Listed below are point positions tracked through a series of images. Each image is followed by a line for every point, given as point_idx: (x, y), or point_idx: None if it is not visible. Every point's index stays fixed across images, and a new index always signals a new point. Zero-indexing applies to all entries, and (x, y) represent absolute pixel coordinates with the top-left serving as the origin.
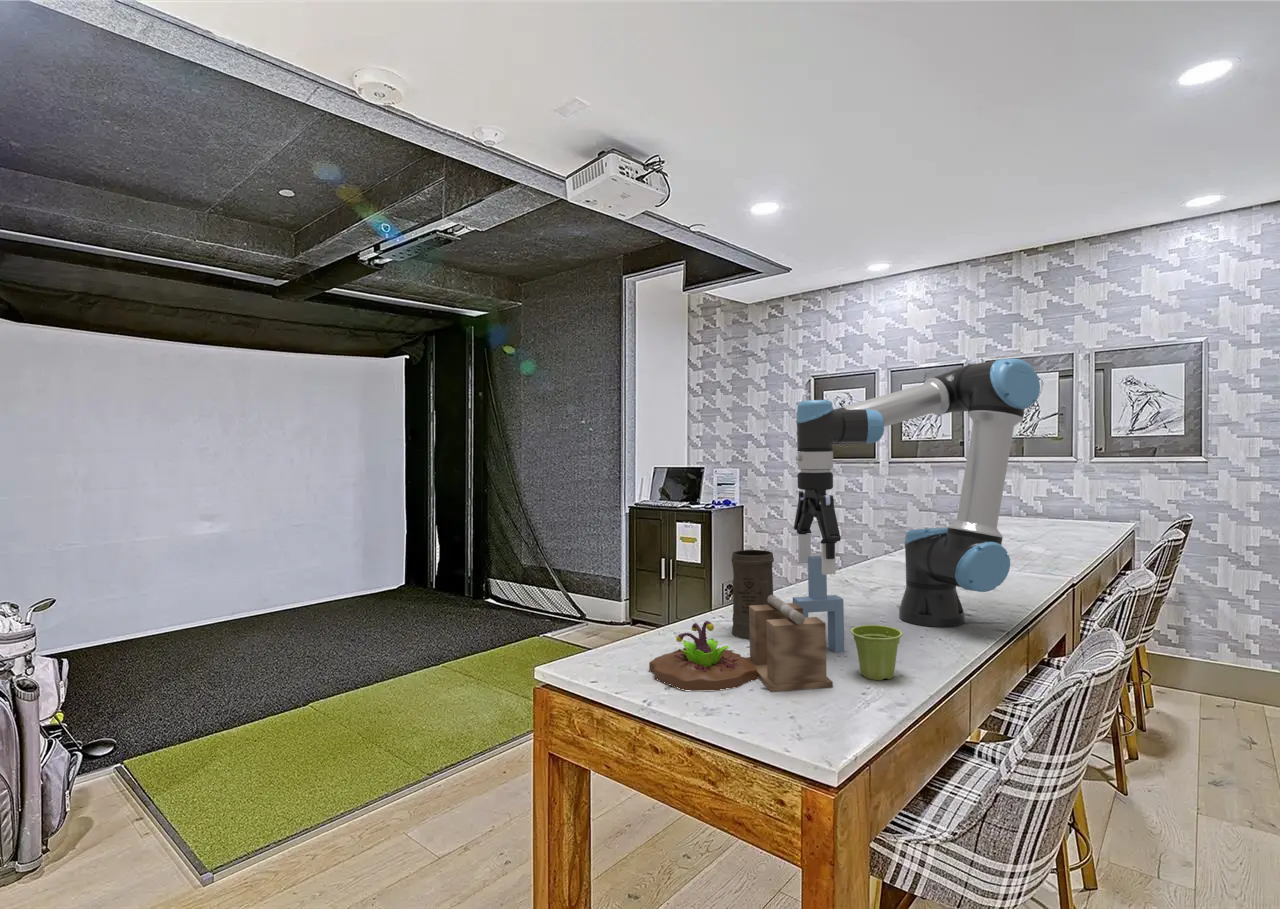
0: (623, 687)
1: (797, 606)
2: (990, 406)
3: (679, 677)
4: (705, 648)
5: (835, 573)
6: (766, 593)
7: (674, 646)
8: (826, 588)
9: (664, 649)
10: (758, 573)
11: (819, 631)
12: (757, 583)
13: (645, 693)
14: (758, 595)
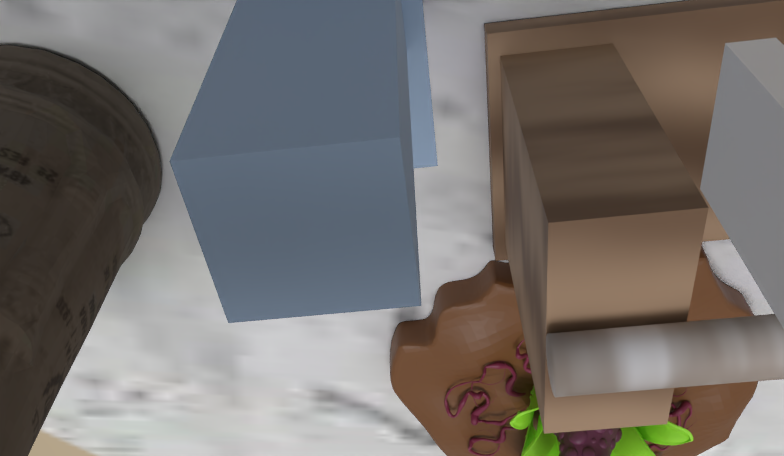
0: None
1: (651, 228)
2: None
3: (702, 451)
4: (615, 439)
5: (777, 41)
6: (50, 269)
7: (273, 419)
8: None
9: (308, 441)
10: (5, 423)
11: None
12: (39, 368)
13: None
14: (72, 303)
